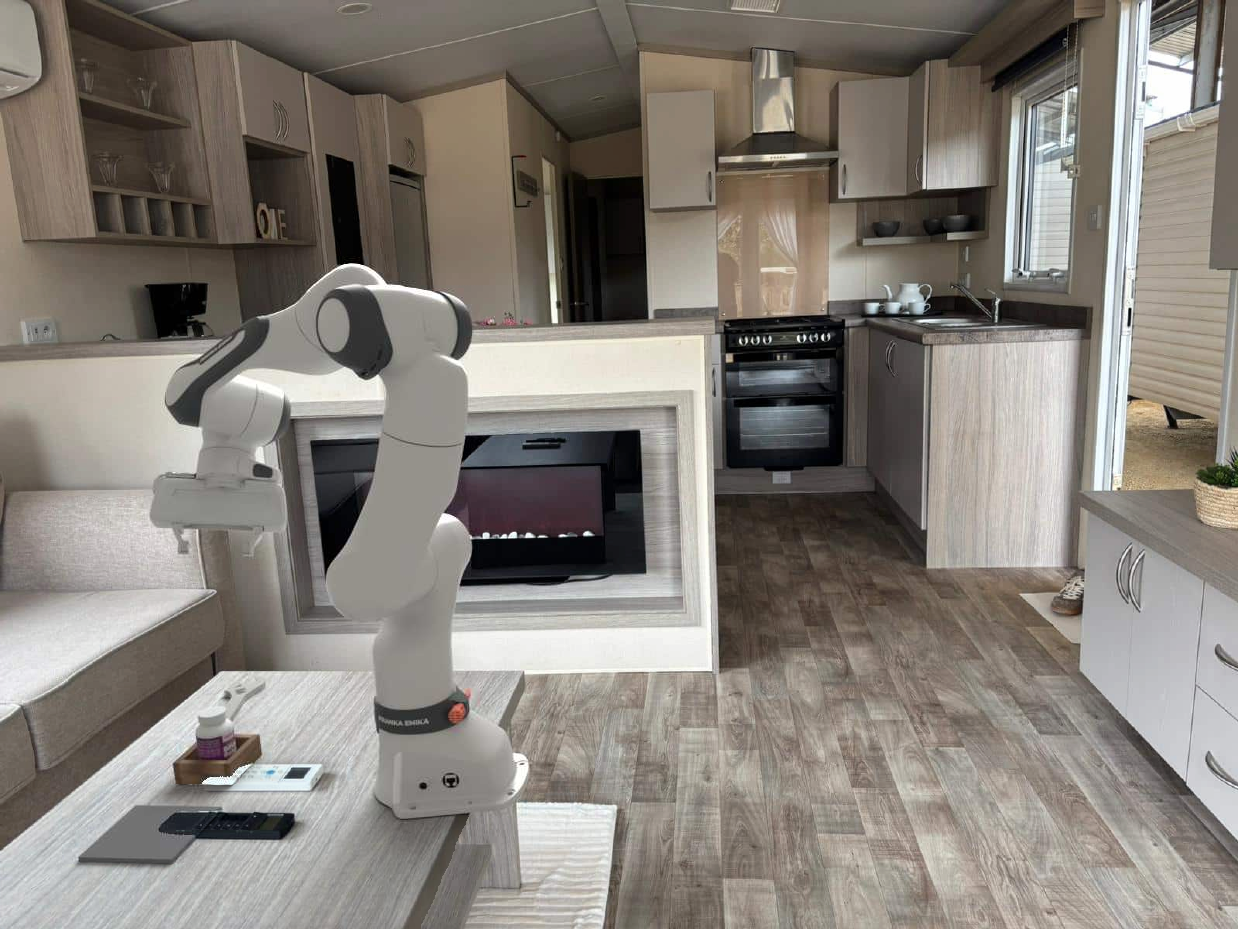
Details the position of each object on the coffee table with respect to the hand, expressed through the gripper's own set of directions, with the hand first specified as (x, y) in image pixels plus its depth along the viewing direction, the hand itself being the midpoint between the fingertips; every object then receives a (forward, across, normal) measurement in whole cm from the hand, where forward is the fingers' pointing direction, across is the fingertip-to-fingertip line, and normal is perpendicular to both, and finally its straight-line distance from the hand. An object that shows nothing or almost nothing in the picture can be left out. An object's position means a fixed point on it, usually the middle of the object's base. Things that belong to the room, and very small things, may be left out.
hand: (215, 554), depth 143 cm
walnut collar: (+31, +3, +11) cm, 33 cm away
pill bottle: (+31, +3, +11) cm, 33 cm away
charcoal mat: (+41, -3, -1) cm, 41 cm away
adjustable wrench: (+20, +2, +28) cm, 35 cm away
